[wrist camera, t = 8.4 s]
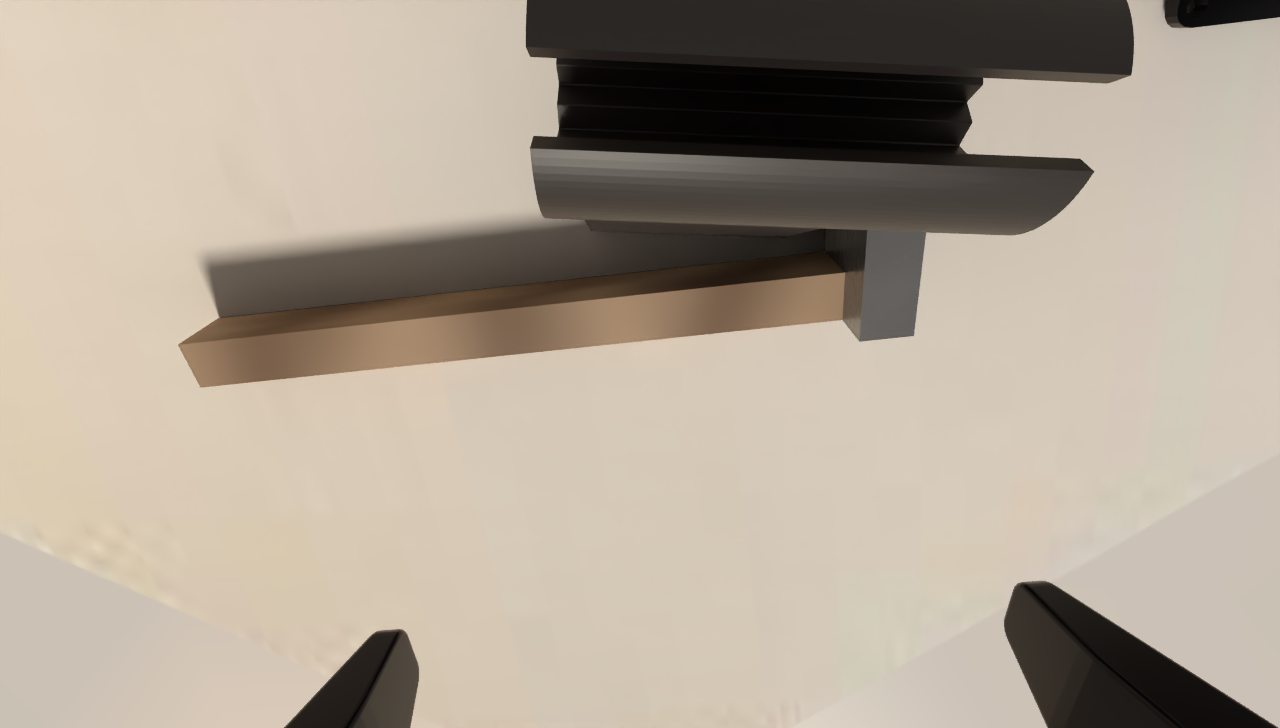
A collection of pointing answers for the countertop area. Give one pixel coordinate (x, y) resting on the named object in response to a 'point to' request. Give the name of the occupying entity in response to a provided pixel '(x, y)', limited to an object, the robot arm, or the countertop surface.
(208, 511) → the countertop surface
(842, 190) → the phone stand
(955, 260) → the countertop surface
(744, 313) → the guide track
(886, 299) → the end stop
